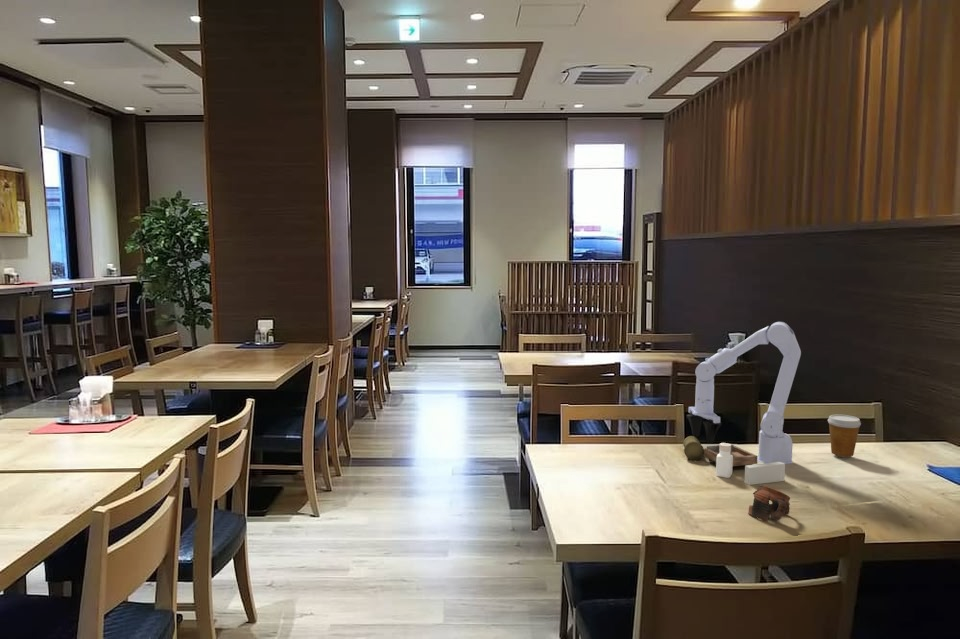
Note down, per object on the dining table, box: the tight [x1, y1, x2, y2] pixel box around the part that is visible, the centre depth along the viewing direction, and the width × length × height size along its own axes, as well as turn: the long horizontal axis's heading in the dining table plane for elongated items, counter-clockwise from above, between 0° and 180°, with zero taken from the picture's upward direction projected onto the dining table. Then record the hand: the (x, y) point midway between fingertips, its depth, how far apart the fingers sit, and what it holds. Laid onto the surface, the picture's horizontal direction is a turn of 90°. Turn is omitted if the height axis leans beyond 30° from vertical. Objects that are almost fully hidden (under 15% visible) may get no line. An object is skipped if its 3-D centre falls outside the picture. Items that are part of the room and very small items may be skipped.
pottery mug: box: [748, 484, 791, 522], centre depth 163 cm, size 12×9×8 cm
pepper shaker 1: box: [683, 435, 705, 461], centre depth 213 cm, size 6×6×11 cm
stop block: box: [744, 462, 786, 486], centre depth 188 cm, size 12×2×5 cm, turn 106°
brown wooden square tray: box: [703, 443, 758, 467], centre depth 203 cm, size 11×11×4 cm
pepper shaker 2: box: [715, 442, 734, 479], centre depth 193 cm, size 4×4×10 cm
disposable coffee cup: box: [827, 414, 862, 458], centre depth 213 cm, size 10×10×12 cm
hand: (702, 439), depth 216 cm, fingers open, 7 cm apart
